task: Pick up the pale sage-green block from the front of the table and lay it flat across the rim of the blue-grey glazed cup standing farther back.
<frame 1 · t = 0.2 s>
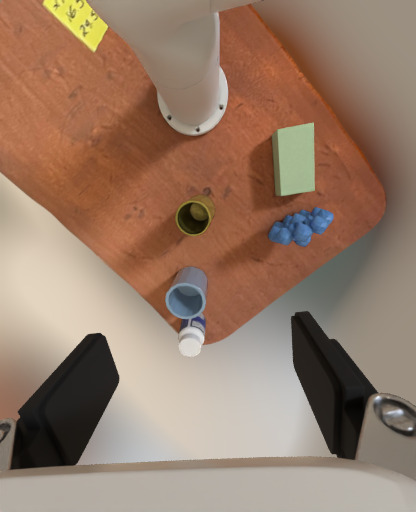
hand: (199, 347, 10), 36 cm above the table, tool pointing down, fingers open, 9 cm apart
grapes: (289, 225, 45), on the table
pill bottle: (194, 318, 52), on the table
cup: (191, 282, 49), on the table
vase: (200, 209, 44), on the table
pale sage-green block: (289, 163, 41), on the table
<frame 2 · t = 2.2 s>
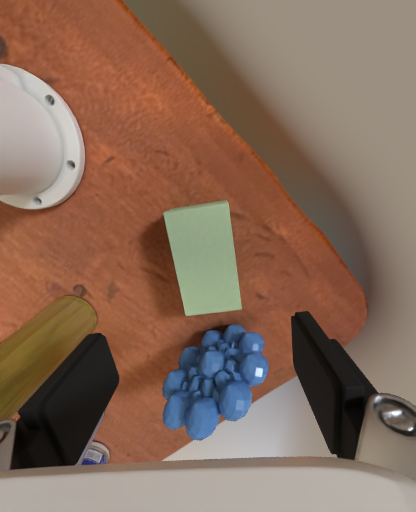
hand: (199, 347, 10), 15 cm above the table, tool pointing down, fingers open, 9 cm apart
grapes: (217, 337, 28), on the table
pill bottle: (95, 449, 36), on the table
vase: (75, 315, 28), on the table
pale sage-green block: (206, 252, 24), on the table
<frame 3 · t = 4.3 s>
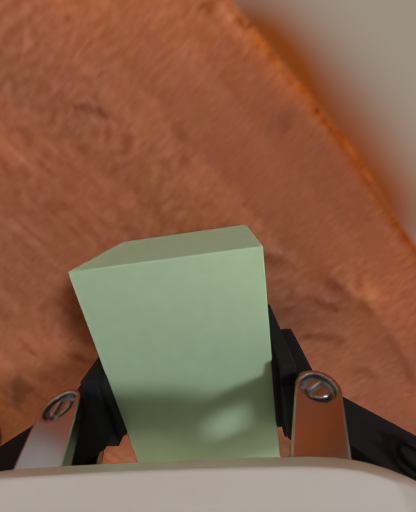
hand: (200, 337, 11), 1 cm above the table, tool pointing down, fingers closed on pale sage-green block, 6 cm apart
pale sage-green block: (201, 330, 12), on the table, touching gripper
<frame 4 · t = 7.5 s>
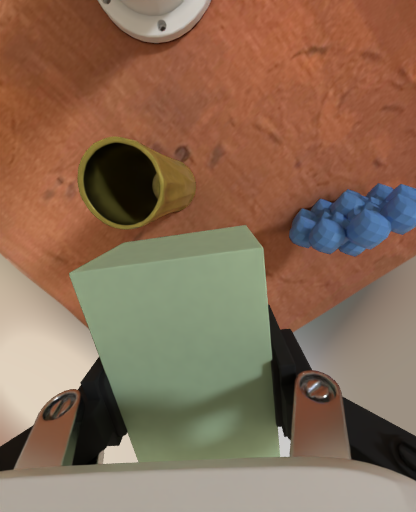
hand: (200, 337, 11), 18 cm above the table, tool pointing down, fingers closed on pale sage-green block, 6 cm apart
grapes: (320, 217, 26), on the table
vase: (171, 186, 26), on the table
pale sage-green block: (201, 331, 12), point 17 cm above the table, touching gripper
when the fingers open (10 cm above the table, at t = 10.8 s): pale sage-green block stays where it is, resting on cup.
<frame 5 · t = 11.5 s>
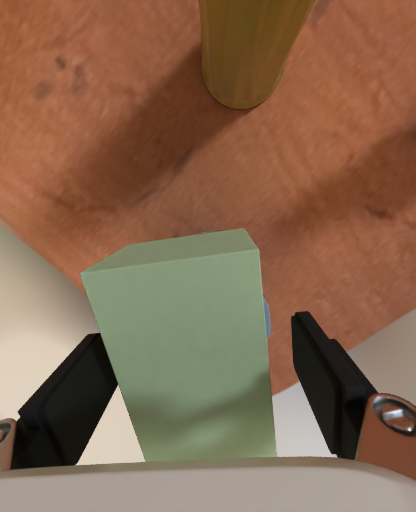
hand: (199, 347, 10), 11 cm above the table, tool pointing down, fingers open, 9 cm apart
vase: (242, 64, 16), on the table
pale sage-green block: (201, 328, 12), point 9 cm above the table, touching cup
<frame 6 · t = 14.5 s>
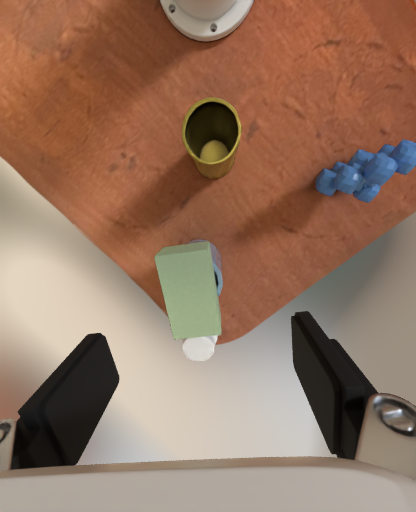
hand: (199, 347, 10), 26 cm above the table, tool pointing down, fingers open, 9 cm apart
grapes: (336, 179, 32), on the table
pill bottle: (202, 310, 40), on the table
cup: (199, 260, 37), on the table, touching pale sage-green block
vase: (214, 157, 32), on the table
pale sage-green block: (193, 283, 28), point 9 cm above the table, touching cup
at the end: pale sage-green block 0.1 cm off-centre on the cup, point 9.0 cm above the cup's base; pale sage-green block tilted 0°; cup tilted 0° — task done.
